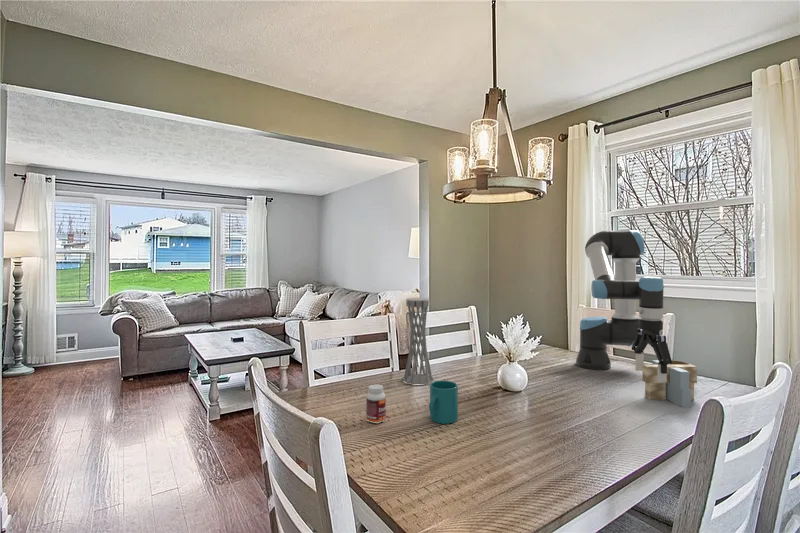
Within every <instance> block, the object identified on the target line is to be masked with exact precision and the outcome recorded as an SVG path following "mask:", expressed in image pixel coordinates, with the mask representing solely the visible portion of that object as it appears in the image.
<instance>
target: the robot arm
mask: <svg viewBox="0 0 800 533" xmlns="http://www.w3.org/2000/svg"><path fill="white" fill-rule="evenodd" d="M584 251H585V255H586V257H587V258H588V259H589V262H590V265H591V270H592V274H593V278H594V280H592V281H591V287H590V288H591V289H590V290H591V291H590V292H591V296H592V298H594V299H601V300H614V314H612V315H611V319H608V318H607V317H606V316H589V317H588V316H587V317H584V318H582V319H580V322H579V350H578V353H577V356H576V359H575V364H576V366H578V367H580V368H583V369H587V370H588V369H589V370H599V371H600V370H609V369H611V368H612V362H611V360H610V357H609V353H608V349H607V348H608V346H626V347H631V350H632V351H633V352H634V354H635V359H634V360H635V361H634V362H635V364H634V365H635V368H634V370H635V372H637V371H638V372H639V371H642V365H645V363H644V362H645V361H644V360H645V358H644V356H645V355H644V353H645V352H644V351H645V349H646V347H647V346H648V345H649V346H650V347H651V348H653V352H654V354H655V355H656V356H655V357H656V358H657V360H658V361H659V363H658V382H667V365H668V364H672V360H673V359H672V358H671V354H670V350H669V347H668V343H667V335H661V334H660V332H662V331H663V330H664V321H663V319H664V288H665V286H664V278H662V277H660V276H658V277H657V276H641V277H640V278H639V279H637V262H638V261H639V260H640V259H641V257H640V256H643V255H644V253H645V241H644V237H643V235H642V233H641V232H640V231H639V230H633V229H632V230H630V229H626V230H624V229H623V230H622V229H621V230H602V231H599V232H596V233H595V234H592V236H591V237H589V239H588V240H587V241H586V243H585V247H584ZM609 256H610V257H611V260H612V261H613V262H614V264H615V265H614V270H613V267H612V265H611V261H610V258H609ZM637 301H639V304H638V307H639V308H638V309H639V310H638V315H637Z"/></svg>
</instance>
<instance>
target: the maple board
mask: <svg viewBox="0 0 800 533" xmlns="http://www.w3.org/2000/svg"><path fill="white" fill-rule="evenodd" d="M670 367H678V368H681V369H683V370H686V371H688V372H689V389H690V390H691V400H695V384H697V383H698V366H695V365H694V364H691V365H667V382H658V365H652V364H644V365H642V372H641V373H642V377H641V378H642V379H641V380H642V382H643V383H645V384H644V398H647V399H648V400H653V401H654V400H663V401H664V400H667V399H666V383H670Z"/></svg>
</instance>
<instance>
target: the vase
mask: <svg viewBox="0 0 800 533" xmlns="http://www.w3.org/2000/svg"><path fill="white" fill-rule="evenodd" d="M405 301H406V303H405V306H406V307H407V310H408V318H409V326H410V330H409V331H410V332H409V347H408V348H409V349H408V355H407V360H406V365H405V368H404V369H405V371H404V375H403V377H402V378H401V380H402V379H403V381H405V382H407V383H411V384H429V383H431V382H433V381H434V382H435V377H433V375H432V374H433V373H432V369H431V364H430V359H429V355H428V354H429V353H428V348H427V334H426V325H427V312H428V307H430V299H429V298H427V297H409V298H406V300H405ZM415 308H416V310H415ZM420 309H421V312H420ZM415 311H416V312H415ZM420 347H421V348H420ZM418 357H419V371H418V363H417V362H418ZM423 360H424V361H423ZM412 361H413V366H412ZM411 370H412V371H411ZM418 372H419V373H418ZM403 381H402V382H403ZM429 385H430V384H429Z"/></svg>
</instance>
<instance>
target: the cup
mask: <svg viewBox="0 0 800 533" xmlns="http://www.w3.org/2000/svg"><path fill="white" fill-rule="evenodd" d="M428 410H429V419H430V420H431V421H432V422H433V423H436V424H439V423H441V425H450V423H451V424H454V423H456V422H457V420H458V419H459V385H458V383H456V382H453V381H449V380H436V381H435V380H434V382H432V383H431V384H429V404H428Z"/></svg>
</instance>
